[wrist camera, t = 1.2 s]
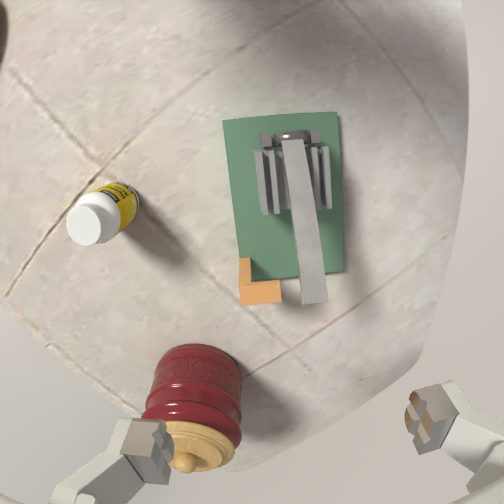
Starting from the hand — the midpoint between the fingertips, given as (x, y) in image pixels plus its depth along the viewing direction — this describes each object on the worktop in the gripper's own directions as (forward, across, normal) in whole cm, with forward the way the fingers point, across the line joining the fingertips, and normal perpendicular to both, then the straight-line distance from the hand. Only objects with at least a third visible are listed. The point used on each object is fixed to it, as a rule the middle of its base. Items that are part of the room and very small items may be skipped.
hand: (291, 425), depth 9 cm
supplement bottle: (+30, +16, -3) cm, 34 cm away
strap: (+20, -4, -2) cm, 21 cm away
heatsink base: (+29, -4, -2) cm, 30 cm away
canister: (+30, +11, +24) cm, 40 cm away
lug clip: (+29, +1, +6) cm, 29 cm away
